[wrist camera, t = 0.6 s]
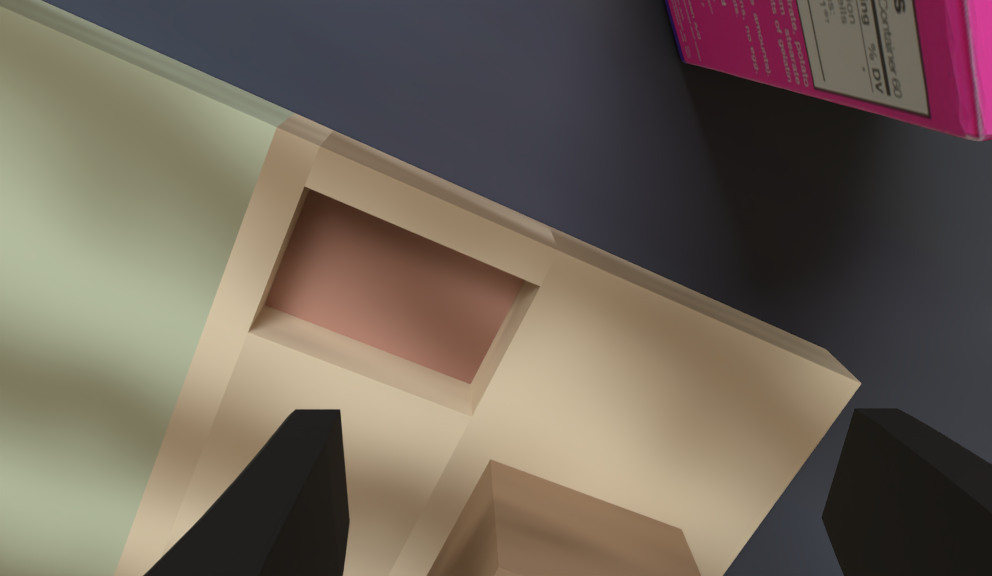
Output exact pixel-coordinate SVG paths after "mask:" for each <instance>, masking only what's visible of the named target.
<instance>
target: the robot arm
mask: <svg viewBox="0 0 992 576" xmlns="http://www.w3.org/2000/svg"><path fill="white" fill-rule="evenodd" d="M822 520H823V523H824V525H825V528H826V531H827V533H828V536H829V539H830V541H831V544H832V547H833V549H834V552H835V555H836V557H837V559H838V562H839V564H840V567H841V569H842V571H843V574H844V576H992V465H991V464H990V463H988V462H986V461H985V460H983V459H982V458H980V457H978V456H977V455H975V454H974V453H972V452H970V451H969V450H967V449H966V448H964V447H962V446H961V445H959V444H958V443H956V442H954V441H953V440H951V439H949V438H948V437H946V436H945V435H943V434H941V433H940V432H938V431H936V430H935V429H933V428H931V427H930V426H928V425H926V424H925V423H923V422H921V421H919V420H918V419H916V418H914V417H912V416H910V415H908V414H907V413H905V412H903V411H901V410H899V409H855V410H854V413H853V416H852V419H851V423H850V426H849V429H848V433H847V436H846V439H845V442H844V446H843V449H842V452H841V456H840V459H839V462H838V465H837V469H836V472H835V475H834V479H833V482H832V485H831V489H830V492H829V495H828V498H827V502H826V505H825V508H824V512H823V515H822ZM349 524H350V518H349V506H348V494H347V482H346V471H345V459H344V447H343V435H342V423H341V412H340V409H295V410H294V411H293V412H292V413H291V414H290V415H289V416H288V417H287V418H286V419H285V420H284V422H283V423H282V424H281V425H280V426H279V428H278V429H277V430H276V431H275V433H274V434H273V435H272V436H271V438H270V439H269V440H268V441H267V442H266V444H265V445H264V446H263V447H262V448H261V450H260V451H259V452H258V453H257V454H256V456H255V457H254V458H253V459H252V460H251V462H250V463H249V464H248V465H247V466H246V467H245V469H244V470H243V471H242V472H241V473H240V474H239V476H238V477H237V478H236V479H235V480H234V481H233V482H232V484H231V485H230V486H229V487H228V488H227V489H226V490H225V491H224V492H223V494H222V495H221V496H220V497H219V498H218V499H217V500H216V501H215V502H214V504H213V505H212V506H211V507H210V508H209V509H208V510H207V511H206V512H205V513H204V515H203V516H202V517H201V518H200V519H199V520H198V521H197V522H196V523H195V524H194V525H193V526H192V527H191V528H190V529H189V530H188V531H187V532H186V533H185V534H184V535H183V536H182V537H181V538H180V539H179V540H178V541H177V542H176V543H175V544H174V545H173V546H172V547H171V548H170V549H169V550H168V551H167V552H166V553H165V554H164V555H163V556H162V557H161V558H160V559H159V560H158V561H157V562H156V563H155V564H154V565H153V566H152V567H151V568H150V569H149V570H148V571H147V572H146V573H145V574H144V575H143V576H343V572H344V565H345V557H346V549H347V540H348V532H349Z"/></svg>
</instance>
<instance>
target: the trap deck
mask: <svg viewBox="0 0 992 576" xmlns="http://www.w3.org/2000/svg"><path fill="white" fill-rule="evenodd" d="M860 385H861V383H860V382H859V381H858V380H857V379H856V378H855V377H854V376H853V375H852V374H851V373H850V372H849V371H848V370H847V369H846V368H845V367H844V366H843V365H842V364H841V363H840V362H839V361H838V360H837V359H836V358H834V357H833V356H832V355H831V354H830V353H829V352H828V351H827V350H826V349H824V348H822V347H820V346H817V345H815V344H813V343H811V342H808V341H806V340H804V339H802V338H799V337H797V336H795V335H793V334H790V333H788V332H786V331H784V330H781V329H779V328H777V327H775V326H772V325H770V324H768V323H766V322H763V321H761V320H759V319H757V318H754V317H752V316H750V315H748V314H745V313H743V312H741V311H739V310H736V309H734V308H732V307H730V306H727V305H725V304H723V303H721V302H718V301H716V300H714V299H712V298H709V297H707V296H705V295H703V294H700V293H698V292H696V291H694V290H691V289H689V288H687V287H685V286H682V285H680V284H678V283H676V282H673V281H671V280H669V279H667V278H664V277H662V276H660V275H658V274H655V273H653V272H651V271H649V270H646V269H644V268H642V267H640V266H637V265H635V264H633V263H631V262H628V261H626V260H624V259H622V258H619V257H617V256H615V255H613V254H610V253H608V252H606V251H604V250H601V249H599V248H597V247H595V246H592V245H590V244H588V243H586V242H583V241H581V240H579V239H577V238H574V237H572V236H570V235H568V234H565V233H563V232H561V231H559V230H556V229H554V228H552V227H550V226H547V225H545V224H543V223H541V222H538V221H536V220H534V219H532V218H529V217H527V216H525V215H523V214H520V213H518V212H516V211H514V210H511V209H509V208H507V207H505V206H502V205H500V204H498V203H496V202H493V201H491V200H489V199H487V198H484V197H482V196H480V195H478V194H475V193H473V192H471V191H469V190H466V189H464V188H462V187H460V186H457V185H455V184H453V183H451V182H449V181H446V180H444V179H442V178H440V177H437V176H435V175H433V174H431V173H428V172H426V171H424V170H422V169H419V168H417V167H415V166H413V165H410V164H408V163H406V162H404V161H401V160H399V159H397V158H395V157H392V156H390V155H388V154H386V153H383V152H381V151H379V150H377V149H374V148H372V147H370V146H368V145H365V144H363V143H361V142H359V141H356V140H354V139H352V138H350V137H347V136H345V135H343V134H341V133H338V132H336V131H334V130H332V129H329V128H327V127H325V126H323V125H320V124H318V123H316V122H314V121H311V120H309V119H307V118H305V117H302V116H300V115H298V114H296V113H293V112H291V111H289V110H287V109H284V108H282V107H280V106H278V105H275V104H273V103H271V102H269V101H266V100H264V99H262V98H260V97H257V96H255V95H253V94H251V93H248V92H246V91H244V90H242V89H239V88H237V87H235V86H233V85H230V84H228V83H226V82H224V81H221V80H219V79H217V78H215V77H212V76H210V75H208V74H206V73H203V72H201V71H199V70H197V69H194V68H192V67H190V66H188V65H185V64H183V63H181V62H179V61H176V60H174V59H172V58H170V57H167V56H165V55H163V54H161V53H158V52H156V51H154V50H152V49H149V48H147V47H145V46H143V45H140V44H138V43H136V42H134V41H131V40H129V39H127V38H125V37H122V36H120V35H118V34H116V33H113V32H111V31H109V30H107V29H104V28H102V27H100V26H98V25H95V24H93V23H91V22H89V21H86V20H84V19H82V18H80V17H77V16H75V15H73V14H71V13H68V12H66V11H64V10H62V9H59V8H57V7H55V6H53V5H50V4H48V3H46V2H44V1H41V0H0V576H143V575H144V574H145V573H146V572H147V571H148V570H149V569H150V568H151V567H152V566H153V565H154V564H155V563H156V562H157V561H158V560H159V559H160V558H161V557H162V556H163V555H164V554H165V553H166V552H167V551H168V550H169V549H170V548H171V547H172V546H173V545H174V544H175V543H176V542H177V541H178V540H179V539H180V538H181V537H182V536H183V535H184V534H185V533H186V532H187V531H188V530H189V529H190V528H191V527H192V526H193V525H194V524H195V523H196V522H197V521H198V520H199V519H200V518H201V517H202V516H203V515H204V513H205V512H206V511H207V510H208V509H209V508H210V507H211V506H212V505H213V504H214V502H215V501H216V500H217V499H218V498H219V497H220V496H221V495H222V494H223V492H224V491H225V490H226V489H227V488H228V487H229V486H230V485H231V484H232V482H233V481H234V480H235V479H236V478H237V477H238V476H239V474H240V473H241V472H242V471H243V470H244V469H245V467H246V466H247V465H248V464H249V463H250V462H251V460H252V459H253V458H254V457H255V456H256V454H257V453H258V452H259V451H260V450H261V448H262V447H263V446H264V445H265V444H266V442H267V441H268V440H269V439H270V438H271V436H272V435H273V434H274V433H275V431H276V430H277V429H278V428H279V426H280V425H281V424H282V423H283V422H284V420H285V419H286V418H287V417H288V416H289V415H290V414H291V413H292V412H293V411H294V410H295V409H340V412H341V423H342V435H343V447H344V459H345V471H346V482H347V494H348V506H349V518H350V524H349V532H348V540H347V549H346V557H345V565H344V572H343V576H427V574H428V572H429V570H430V569H431V567H432V565H433V563H434V561H435V559H436V558H437V556H438V554H439V552H440V550H441V548H442V547H443V545H444V543H445V541H446V539H447V538H448V536H449V534H450V532H451V530H452V528H453V527H454V525H455V523H456V521H457V519H458V517H459V516H460V514H461V512H462V510H463V508H464V506H465V505H466V503H467V501H468V499H469V497H470V496H471V494H472V492H473V490H474V488H475V486H476V485H477V483H478V481H479V479H480V477H481V475H482V474H483V472H484V470H485V468H486V466H487V464H488V463H489V461H490V459H491V460H494V461H497V462H499V463H502V464H505V465H507V466H510V467H513V468H516V469H518V470H521V471H524V472H527V473H529V474H532V475H535V476H538V477H540V478H543V479H546V480H548V481H551V482H554V483H557V484H559V485H562V486H565V487H568V488H570V489H573V490H576V491H579V492H581V493H584V494H587V495H589V496H592V497H595V498H598V499H600V500H603V501H606V502H609V503H611V504H614V505H617V506H620V507H622V508H625V509H628V510H630V511H633V512H636V513H639V514H641V515H644V516H647V517H650V518H652V519H655V520H658V521H661V522H663V523H666V524H669V525H671V526H674V527H677V528H680V529H682V531H683V534H684V536H685V538H686V541H687V543H688V545H689V548H690V550H691V553H692V555H693V557H694V560H695V562H696V564H697V567H698V569H699V572H700V574H701V576H723V574H724V573H725V572H726V570H727V569H728V568H729V566H730V565H731V563H732V562H733V561H734V559H735V558H736V556H737V555H738V554H739V552H740V551H741V550H742V548H743V547H744V545H745V544H746V543H747V541H748V540H749V538H750V537H751V536H752V534H753V533H754V532H755V530H756V529H757V527H758V526H759V525H760V523H761V522H762V520H763V519H764V518H765V516H766V515H767V514H768V512H769V511H770V509H771V508H772V507H773V505H774V504H775V502H776V501H777V500H778V498H779V497H780V496H781V494H782V493H783V491H784V490H785V489H786V487H787V486H788V484H789V483H790V482H791V480H792V479H793V478H794V476H795V475H796V473H797V472H798V471H799V469H800V468H801V466H802V465H803V464H804V462H805V461H806V460H807V458H808V457H809V455H810V454H811V453H812V451H813V450H814V448H815V447H816V446H817V444H818V443H819V442H820V440H821V439H822V437H823V436H824V435H825V433H826V432H827V430H828V429H829V428H830V426H831V425H832V424H833V422H834V421H835V419H836V418H837V417H838V415H839V414H840V412H841V411H842V410H843V408H844V407H845V406H846V404H847V403H848V401H849V400H850V399H851V397H852V396H853V394H854V393H855V392H856V390H857V389H858V388H859V386H860Z"/></svg>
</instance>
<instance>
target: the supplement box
mask: <svg viewBox="0 0 992 576" xmlns="http://www.w3.org/2000/svg"><path fill="white" fill-rule="evenodd" d="M665 4H666V8H667V11H668V15H669V19H670V22H671V26H672V30H673V33H674V37H675V41H676V44H677V48H678V51H679V55H680V58H681V60H682V61H683V62H684V63H686V64H692V65H696V66H700V67H704V68H708V69H713V70H716V71H720V72H723V73H727V74H730V75H734V76H737V77H741V78H745V79H748V80H752V81H755V82H758V83H763V84H766V85H771V86H774V87H777V88H783V89H786V90H789V91H793V92H796V93H800V94H804V95H807V96H811V97H815V98H819V99H823V100H826V101H830V102H833V103H837V104H841V105H845V106H849V107H853V108H856V109H859V110H863V111H867V112H871V113H875V114H879V115H883V116H886V117H890V118H893V119H896V120H900V121H903V122H906V123H910V124H913V125H917V126H920V127H924V128H928V129H931V130H935V131H938V132H942V133H945V134H949V135H953V136H956V137H960V138H964V139H968V140H975V141H986V140H991V139H992V0H665Z"/></svg>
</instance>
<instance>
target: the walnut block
mask: <svg viewBox="0 0 992 576" xmlns="http://www.w3.org/2000/svg"><path fill="white" fill-rule="evenodd" d="M427 576H701V574H700V572H699V569H698V567H697V564H696V562H695V560H694V557H693V555H692V553H691V550H690V548H689V545H688V543H687V541H686V538H685V536H684V534H683V531H682V529H680V528H677V527H674V526H671V525H669V524H666V523H663V522H661V521H658V520H655V519H652V518H650V517H647V516H644V515H641V514H639V513H636V512H633V511H630V510H628V509H625V508H622V507H620V506H617V505H614V504H611V503H609V502H606V501H603V500H600V499H598V498H595V497H592V496H589V495H587V494H584V493H581V492H579V491H576V490H573V489H570V488H568V487H565V486H562V485H559V484H557V483H554V482H551V481H548V480H546V479H543V478H540V477H538V476H535V475H532V474H529V473H527V472H524V471H521V470H518V469H516V468H513V467H510V466H507V465H505V464H502V463H499V462H497V461H494V460H491V459H490V461H489V463H488V464H487V466H486V468H485V470H484V472H483V474H482V475H481V477H480V479H479V481H478V483H477V485H476V486H475V488H474V490H473V492H472V494H471V496H470V497H469V499H468V501H467V503H466V505H465V506H464V508H463V510H462V512H461V514H460V516H459V517H458V519H457V521H456V523H455V525H454V527H453V528H452V530H451V532H450V534H449V536H448V538H447V539H446V541H445V543H444V545H443V547H442V548H441V550H440V552H439V554H438V556H437V558H436V559H435V561H434V563H433V565H432V567H431V569H430V570H429V572H428V574H427Z"/></svg>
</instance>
